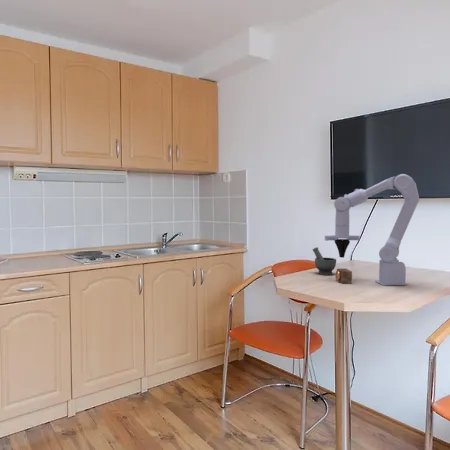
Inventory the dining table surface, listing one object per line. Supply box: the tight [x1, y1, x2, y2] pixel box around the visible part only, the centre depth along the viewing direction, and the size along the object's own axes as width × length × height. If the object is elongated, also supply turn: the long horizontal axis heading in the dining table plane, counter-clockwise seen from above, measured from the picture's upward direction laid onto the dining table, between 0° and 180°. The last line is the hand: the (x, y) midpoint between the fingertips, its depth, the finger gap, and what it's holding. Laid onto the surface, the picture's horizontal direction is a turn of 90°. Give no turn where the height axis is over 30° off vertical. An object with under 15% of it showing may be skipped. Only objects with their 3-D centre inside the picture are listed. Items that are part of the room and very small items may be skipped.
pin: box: [334, 270, 341, 281], centre depth 162 cm, size 6×4×4 cm, turn 91°
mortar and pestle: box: [312, 247, 337, 276], centre depth 181 cm, size 11×9×12 cm
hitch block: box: [336, 268, 353, 285], centre depth 162 cm, size 4×7×5 cm, turn 1°
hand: (341, 257), depth 168 cm, fingers closed
